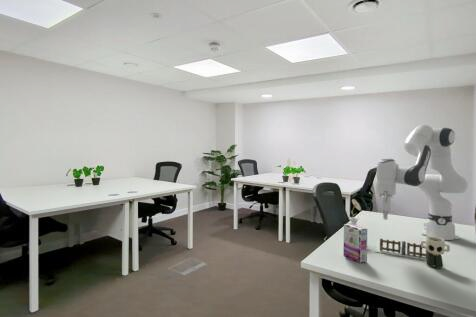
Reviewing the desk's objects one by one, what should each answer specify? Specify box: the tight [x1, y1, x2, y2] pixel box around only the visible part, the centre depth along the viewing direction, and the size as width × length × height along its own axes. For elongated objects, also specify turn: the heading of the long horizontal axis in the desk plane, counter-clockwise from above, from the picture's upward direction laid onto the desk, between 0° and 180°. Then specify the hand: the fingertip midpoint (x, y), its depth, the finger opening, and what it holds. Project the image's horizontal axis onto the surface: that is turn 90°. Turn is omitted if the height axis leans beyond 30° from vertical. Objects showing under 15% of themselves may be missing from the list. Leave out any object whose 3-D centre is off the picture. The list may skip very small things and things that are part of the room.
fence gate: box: [379, 238, 402, 253], centre depth 143 cm, size 1×10×6 cm, turn 62°
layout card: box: [375, 242, 427, 261], centre depth 145 cm, size 15×25×1 cm, turn 62°
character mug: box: [420, 236, 451, 269], centre depth 126 cm, size 11×7×13 cm, turn 57°
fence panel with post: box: [401, 240, 429, 258], centre depth 138 cm, size 2×12×7 cm, turn 62°
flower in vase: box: [342, 198, 362, 239], centre depth 161 cm, size 13×11×25 cm
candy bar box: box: [343, 223, 368, 264], centre depth 135 cm, size 11×5×16 cm, turn 21°
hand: (385, 217), depth 139 cm, fingers open, 8 cm apart
